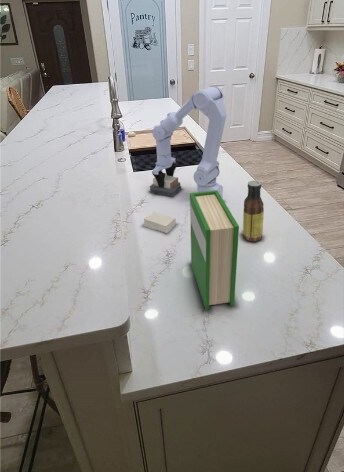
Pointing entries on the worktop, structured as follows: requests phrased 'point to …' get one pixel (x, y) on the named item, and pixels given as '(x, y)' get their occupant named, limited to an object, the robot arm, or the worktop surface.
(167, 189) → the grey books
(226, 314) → the worktop surface
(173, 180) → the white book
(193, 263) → the hardback book
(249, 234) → the sauce bottle
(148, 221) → the cream rectangular block
